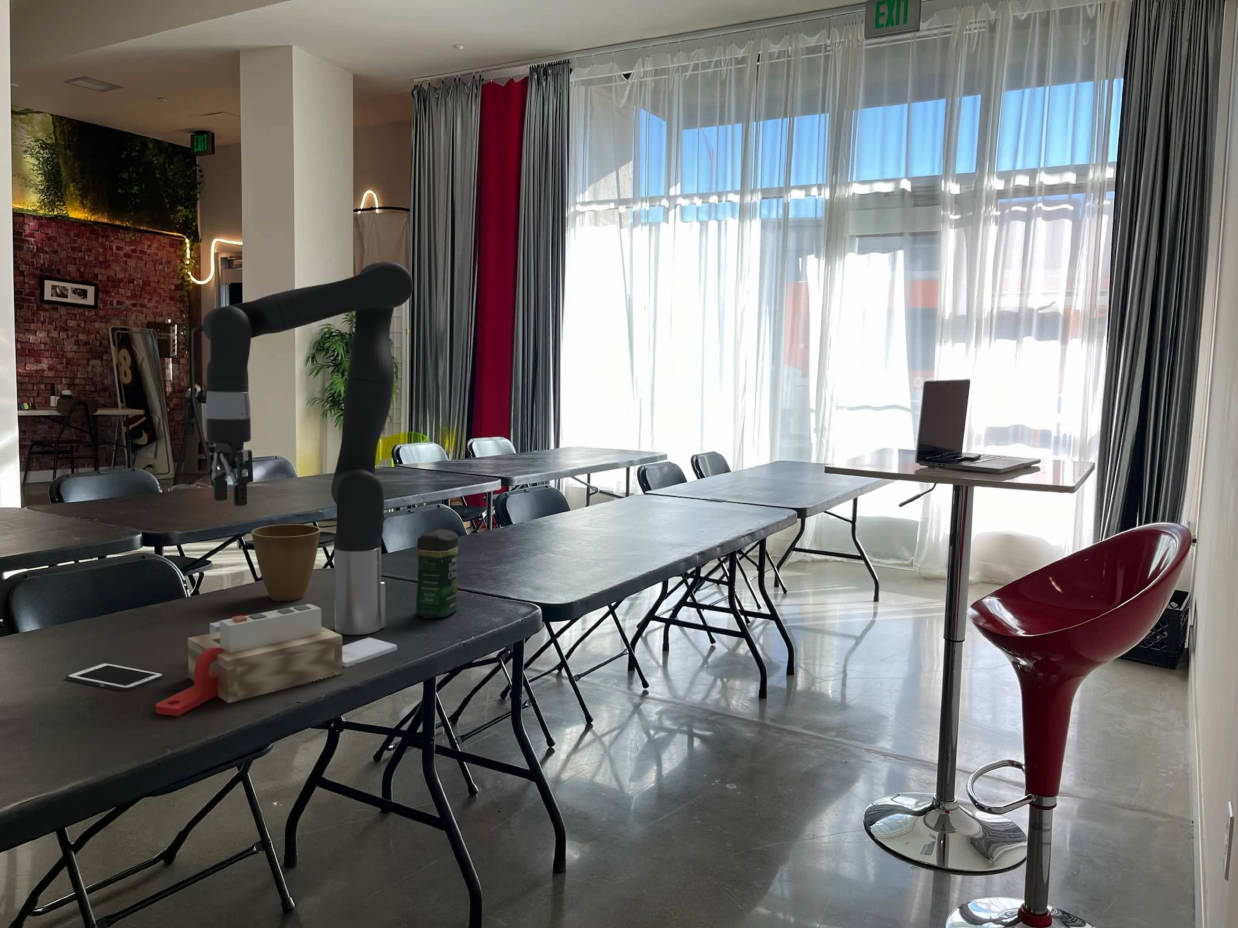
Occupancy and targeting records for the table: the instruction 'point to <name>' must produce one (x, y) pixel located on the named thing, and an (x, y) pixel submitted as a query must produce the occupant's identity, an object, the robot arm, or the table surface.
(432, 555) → the coffee jar
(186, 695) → the bracket
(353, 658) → the external hard drive
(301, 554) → the plant pot
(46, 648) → the table surface
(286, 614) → the power strip
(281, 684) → the wooden block with holes
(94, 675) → the cell phone
